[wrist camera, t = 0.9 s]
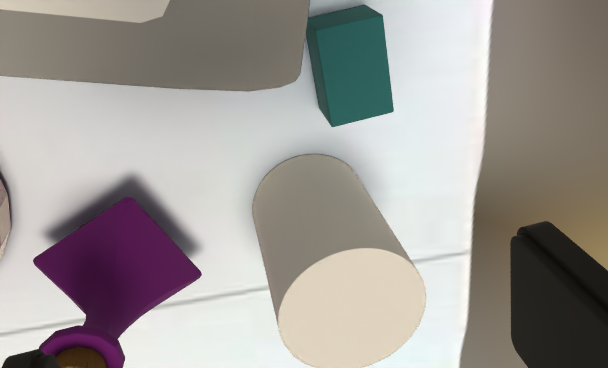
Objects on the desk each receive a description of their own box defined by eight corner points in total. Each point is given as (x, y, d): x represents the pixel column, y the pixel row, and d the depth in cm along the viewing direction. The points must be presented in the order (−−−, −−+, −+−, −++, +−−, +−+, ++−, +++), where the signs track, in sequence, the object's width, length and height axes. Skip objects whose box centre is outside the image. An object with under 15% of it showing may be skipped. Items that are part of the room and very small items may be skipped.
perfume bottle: (42, 233, 38) (-58, 473, 22) (133, 172, 37) (98, 374, 21) (117, 303, 41) (78, 553, 26) (201, 248, 41) (215, 470, 25)
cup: (247, 253, 42) (270, 373, 31) (258, 151, 38) (287, 247, 28) (353, 254, 43) (408, 367, 33) (372, 156, 40) (441, 248, 30)
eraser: (303, 18, 35) (314, 30, 32) (365, 4, 35) (383, 14, 32) (319, 109, 38) (331, 128, 35) (376, 95, 38) (394, 112, 35)
